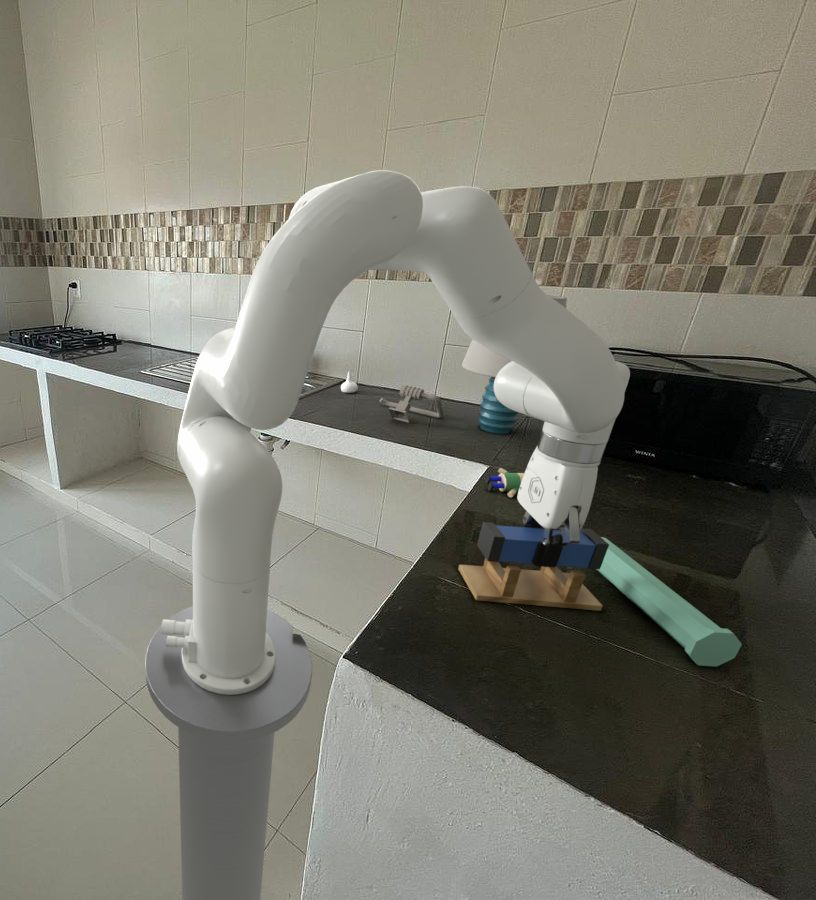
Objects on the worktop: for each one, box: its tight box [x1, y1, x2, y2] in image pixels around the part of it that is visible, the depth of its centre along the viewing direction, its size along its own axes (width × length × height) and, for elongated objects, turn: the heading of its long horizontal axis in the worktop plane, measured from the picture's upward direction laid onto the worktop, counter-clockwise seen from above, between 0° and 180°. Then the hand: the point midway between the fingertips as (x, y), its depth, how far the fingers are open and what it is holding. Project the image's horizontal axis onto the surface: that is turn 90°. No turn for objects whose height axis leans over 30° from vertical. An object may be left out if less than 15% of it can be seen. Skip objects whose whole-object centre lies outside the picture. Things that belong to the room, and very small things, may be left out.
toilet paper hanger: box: [378, 385, 445, 423], centre depth 158 cm, size 22×11×14 cm
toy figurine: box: [484, 467, 525, 498], centre depth 108 cm, size 8×4×12 cm
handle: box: [476, 521, 609, 570], centre depth 74 cm, size 16×4×4 cm, turn 83°
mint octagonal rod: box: [596, 536, 743, 668], centre depth 73 cm, size 6×6×25 cm
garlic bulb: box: [340, 370, 358, 394], centre depth 184 cm, size 6×6×8 cm
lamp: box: [461, 294, 568, 435], centre depth 140 cm, size 25×25×39 cm
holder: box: [457, 557, 603, 612], centre depth 76 cm, size 18×8×6 cm, turn 83°
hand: (536, 555), depth 74 cm, fingers closed on handle, 4 cm apart
